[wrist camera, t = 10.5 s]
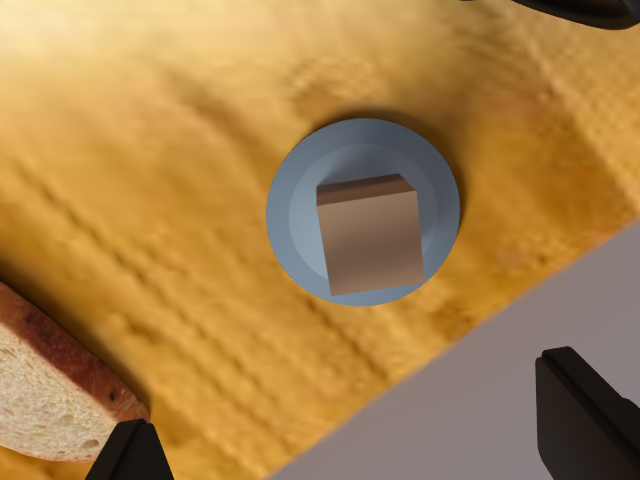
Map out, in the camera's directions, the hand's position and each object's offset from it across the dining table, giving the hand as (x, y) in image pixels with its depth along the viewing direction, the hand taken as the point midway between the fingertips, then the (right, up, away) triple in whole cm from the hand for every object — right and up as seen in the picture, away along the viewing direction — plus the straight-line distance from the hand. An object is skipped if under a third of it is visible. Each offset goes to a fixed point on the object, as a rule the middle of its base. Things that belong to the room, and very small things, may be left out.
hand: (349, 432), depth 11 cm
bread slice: (-23, -3, +22) cm, 32 cm away
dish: (+2, +6, +18) cm, 19 cm away
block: (+2, +6, +17) cm, 18 cm away
